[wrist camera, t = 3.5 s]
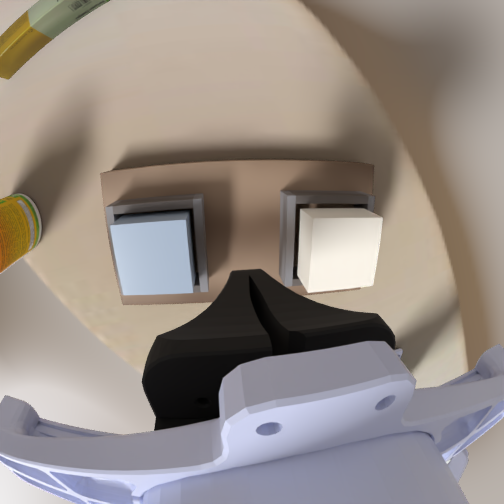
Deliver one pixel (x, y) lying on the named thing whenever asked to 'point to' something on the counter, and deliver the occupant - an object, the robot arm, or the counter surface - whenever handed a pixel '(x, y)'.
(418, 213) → the counter surface
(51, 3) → the medication box
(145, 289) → the blue key
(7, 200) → the supplement bottle
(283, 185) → the key board
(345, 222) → the cream key
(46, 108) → the counter surface
